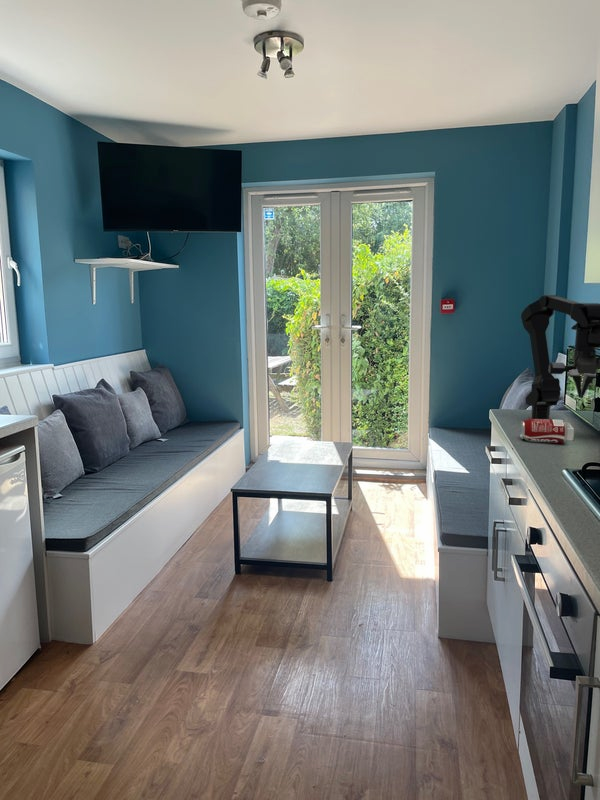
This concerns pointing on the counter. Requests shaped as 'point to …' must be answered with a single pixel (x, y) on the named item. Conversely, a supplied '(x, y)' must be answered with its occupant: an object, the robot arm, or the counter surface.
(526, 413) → the counter surface
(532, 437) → the soda can
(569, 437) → the bin
